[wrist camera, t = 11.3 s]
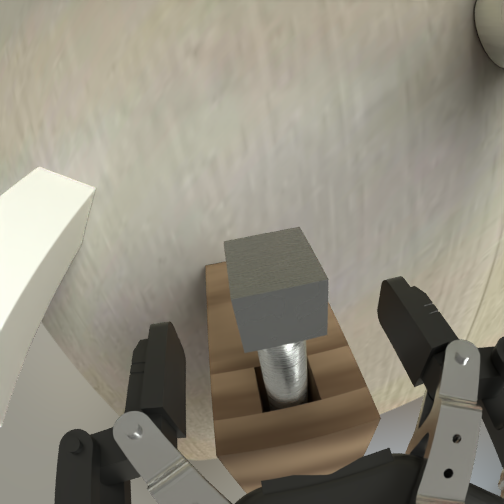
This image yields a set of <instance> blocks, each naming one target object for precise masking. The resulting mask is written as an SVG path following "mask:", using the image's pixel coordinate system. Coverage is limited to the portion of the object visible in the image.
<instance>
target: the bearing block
mask: <svg viewBox="0 0 504 504" xmlns="http://www.w3.org/2000/svg"><path fill="white" fill-rule="evenodd" d="M206 299H207V324H208V345H209V363H210V379H211V394H212V408H213V421H214V433H215V444H216V455H217V457H218V458H219V460H220V461H221V462H222V464H223V465H224V466H225V468H226V469H227V470H228V471H229V473H230V474H231V475H232V476H233V478H234V479H235V480H236V481H237V483H238V484H239V485H240V486H241V487H242V489H243V490H244V491H245V492H246V493H247V494H248V493H249V492H251V491H253V490H255V489H257V488H260V487H262V485H261V481H263V480H269V479H275V478H281V477H286V476H291V475H328V474H332V473H334V472H336V471H337V470H339V469H341V468H343V467H345V466H346V465H348V464H350V463H352V462H353V461H355V460H357V459H359V458H361V457H363V456H364V454H365V452H366V450H367V448H368V445H369V443H370V441H371V439H372V437H373V434H374V432H375V430H376V428H377V426H378V423H379V421H380V419H381V418H380V415H379V413H378V410H377V408H376V406H375V403H374V401H373V399H372V396H371V394H370V392H369V390H368V387H367V385H366V383H365V380H364V378H363V376H362V374H361V371H360V369H359V367H358V365H357V363H356V360H355V358H354V356H353V354H352V352H351V349H350V347H349V345H348V343H347V341H346V338H345V336H344V334H343V332H342V330H341V328H340V326H339V323H338V321H337V319H336V317H335V315H334V313H333V311H332V309H331V307H330V305H329V302H328V328H327V335H325V336H321V337H317V338H313V339H309V340H306V354H307V392H308V403H306V404H302V405H298V406H294V407H289V408H285V409H280V410H275V411H270V406H269V402H268V397H267V393H266V388H265V384H264V379H263V374H262V370H261V365H260V361H259V356H258V351H253V352H248V353H244V349H243V345H242V341H241V337H240V333H239V330H238V326H237V322H236V318H235V314H234V310H233V306H232V302H231V297H230V289H229V281H228V273H227V265H226V262H221V263H216V264H211V265H206Z"/></svg>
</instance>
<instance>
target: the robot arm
mask: <svg viewBox="0 0 504 504" xmlns="http://www.w3.org/2000/svg"><path fill="white" fill-rule="evenodd" d="M475 23H476V28H477V32H478V36H479V38H480V41H481V43H482V45H483V48H484V50H485V51H486V53H487V54H488V56H489V57H490V59H491V60H492V61H493V62H494V63H495V64H497V65H498V66H499V67H501V68H504V0H477V2H476V6H475ZM377 312H378V319H379V322H380V324H381V326H382V328H383V329H384V331H385V333H386V335H387V337H388V338H389V340H390V342H391V344H392V346H393V348H394V349H395V351H396V353H397V355H398V357H399V359H400V361H401V362H402V364H403V366H404V368H405V370H406V372H407V374H408V376H409V378H410V380H411V382H412V384H413V385H414V387H416V386H418V385H421V384H423V383H424V385H425V387H426V390H425V393H424V397H423V401H422V405H421V410H420V413H419V417H418V421H417V425H416V429H415V432H414V434H413V437H412V439H411V441H410V443H409V445H408V448H407V450H406V453H405V454H402V453H401V454H400V453H398V454H391V451H390V448H387V449H384V450H381V451H379V452H376V453H373V454H370V455H367V456H364V457H361V458H359V459H357V460H355V461H353V462H352V463H350V464H348V465H346V466H345V467H343V468H341V469H339V470H337V471H336V472H334V473H332V474H328V475H291V476H286V477H281V478H275V479H269V480H263V481H261V485H262V487H260V488H257V489H255V490H253V491H251V492H249V493H248V494H246V495H245V496H243V497H242V498H241V499H239V500H238V501H237V502H236V503H235V504H504V337H502V338H500V339H499V341H498V342H497V344H496V346H495V347H484V348H477V347H476V346H475V345H474V344H473V343H471V342H469V341H467V340H462V339H461V340H459V339H458V337H457V336H456V334H455V333H454V332H453V330H452V329H451V327H450V326H449V324H448V323H447V322H446V320H445V319H444V318H443V316H442V315H441V313H440V312H438V309H437V308H436V307H435V305H434V304H432V301H431V300H430V299H429V297H428V296H427V295H426V293H424V292H423V291H421V290H420V289H418V288H417V287H415V286H413V287H410V286H409V284H408V283H407V282H406V280H405V279H404V278H403V277H401V276H399V277H396V278H391V279H387V280H384V281H383V282H382V285H381V291H380V297H379V303H378V309H377ZM130 374H131V375H130V377H129V384H128V392H127V399H126V408H125V412H124V414H123V415H121V416H120V417H119V418H118V419H117V421H116V422H115V424H114V426H113V427H112V428H109V429H107V430H104V431H101V432H98V433H95V434H91V435H89V434H88V433H87V432H86V431H84V430H81V429H74V430H71V431H69V432H67V433H66V434H65V435H64V436H63V438H62V439H61V441H60V445H59V453H58V463H57V474H56V487H55V504H131V486H130V480H131V479H135V478H138V477H142V478H143V480H144V481H145V482H146V484H147V485H148V491H149V492H150V494H151V495H152V497H153V498H154V499H155V500H156V502H157V503H158V504H232V503H231V502H230V501H229V500H228V499H227V498H226V497H224V496H223V495H222V494H221V493H220V492H219V491H218V490H217V489H216V488H215V487H214V486H213V485H212V484H211V483H209V482H208V481H207V480H206V479H205V478H204V477H203V476H202V475H201V474H200V473H199V472H198V471H197V470H196V469H195V468H194V466H193V465H192V464H190V462H189V461H188V460H187V459H186V458H185V457H184V456H183V455H182V454H181V453H180V452H179V450H178V449H177V438H186V360H185V354H184V350H183V347H182V345H181V343H180V340H179V338H178V336H177V333H176V331H175V329H174V327H173V324H172V323H171V322H164V323H158V324H151V326H150V329H149V336H148V339H144V340H140V341H139V343H138V345H137V346H136V348H135V349H134V351H133V357H132V365H131V370H130ZM481 418H482V419H483V422H484V424H485V426H486V428H487V430H488V433H489V435H490V437H491V440H492V442H493V444H494V447H495V449H496V452H497V454H498V457H499V459H500V462H501V464H502V467H503V471H502V473H501V478H500V481H499V483H498V487H499V489H500V490H501V496H498V495H495V494H493V493H491V492H488V491H486V490H484V489H482V488H480V487H478V486H476V485H473V484H471V483H469V482H470V478H471V474H472V469H473V465H474V460H475V455H476V450H477V444H478V438H479V432H480V425H481Z"/></svg>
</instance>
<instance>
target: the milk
mask: <svg viewBox="0 0 504 504" xmlns="http://www.w3.org/2000/svg"><path fill="white" fill-rule="evenodd" d="M95 190H96V188H95V187H92V186H90V185H87V184H84V183H82V182H79V181H76V180H74V179H71V178H68V177H66V176H63V175H60V174H57V173H55V172H52V171H49V170H47V169H44V168H41V167H38V168H36V169H35V170H33V171H32V172H31V173H29V174H28V175H27V176H25V177H24V178H23V179H21V180H20V181H19V182H17V183H16V184H15V185H14V186H12V187H11V188H10V189H8V190H7V191H6V192H5V193H3V194H2V195H1V196H0V427H1V426H2V424H3V421H4V417H5V414H6V411H7V408H8V405H9V402H10V399H11V396H12V393H13V390H14V387H15V384H16V382H17V379H18V376H19V373H20V371H21V368H22V366H23V363H24V361H25V358H26V355H27V353H28V351H29V348H30V346H31V343H32V341H33V339H34V337H35V334H36V332H37V330H38V328H39V325H40V323H41V321H42V319H43V317H44V315H45V312H46V310H47V308H48V306H49V304H50V302H51V300H52V298H53V296H54V294H55V292H56V290H57V288H58V286H59V284H60V282H61V281H62V279H63V277H64V275H65V273H66V271H67V269H68V268H69V266H70V264H71V262H72V260H73V259H74V257H75V255H76V253H77V252H78V250H79V248H80V246H81V244H82V240H83V236H84V232H85V228H86V223H87V219H88V215H89V212H90V208H91V204H92V200H93V197H94V193H95Z"/></svg>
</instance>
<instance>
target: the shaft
mask: <svg viewBox="0 0 504 504" xmlns="http://www.w3.org/2000/svg"><path fill="white" fill-rule="evenodd" d="M224 248H225V256H226V265H227V273H228V281H229V289H230V297H231V302H232V306H233V310H234V314H235V318H236V322H237V326H238V330H239V333H240V337H241V341H242V345H243V349H244V353H248V352H253V351H258V356H259V361H260V365H261V370H262V374H263V379H264V384H265V388H266V393H267V397H268V402H269V406H270V411H275V410H280V409H285V408H289V407H294V406H298V405H302V404H306V403H308V392H307V354H306V340H309V339H313V338H317V337H321V336H325V335H327V328H328V278H327V276H326V274H325V272H324V270H323V269H322V267H321V265H320V263H319V261H318V259H317V258H316V256H315V254H314V252H313V250H312V248H311V247H310V245H309V243H308V241H307V239H306V238H305V236H304V234H303V232H302V230H301V229H300V227H297V228H291V229H286V230H281V231H276V232H271V233H265V234H260V235H255V236H250V237H245V238H240V239H235V240H230V241H224Z"/></svg>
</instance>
